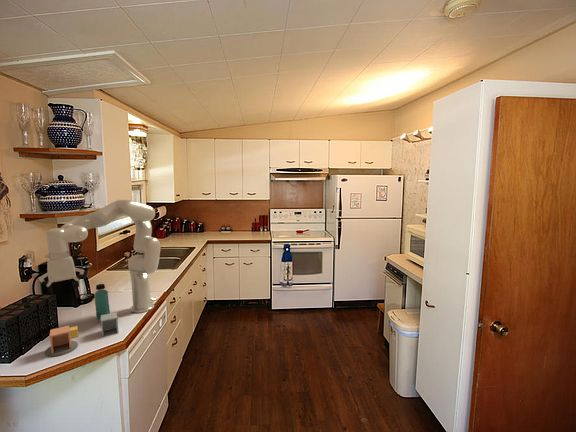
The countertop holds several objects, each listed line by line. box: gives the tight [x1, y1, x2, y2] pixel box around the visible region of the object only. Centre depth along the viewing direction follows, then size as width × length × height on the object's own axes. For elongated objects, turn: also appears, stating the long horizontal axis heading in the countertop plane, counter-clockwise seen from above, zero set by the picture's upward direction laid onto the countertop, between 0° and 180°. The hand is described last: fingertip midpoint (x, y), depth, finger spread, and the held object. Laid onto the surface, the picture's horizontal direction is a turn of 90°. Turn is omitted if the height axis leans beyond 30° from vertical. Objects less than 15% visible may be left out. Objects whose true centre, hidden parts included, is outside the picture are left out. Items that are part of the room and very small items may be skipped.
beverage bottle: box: [94, 283, 111, 321], centre depth 168 cm, size 6×7×20 cm
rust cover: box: [49, 325, 72, 353], centre depth 141 cm, size 7×7×8 cm
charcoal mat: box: [44, 340, 79, 358], centre depth 141 cm, size 12×12×1 cm
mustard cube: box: [69, 325, 79, 339], centre depth 153 cm, size 4×4×4 cm
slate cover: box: [100, 312, 119, 337], centre depth 157 cm, size 7×7×8 cm
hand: (64, 291), depth 147 cm, fingers open, 9 cm apart
